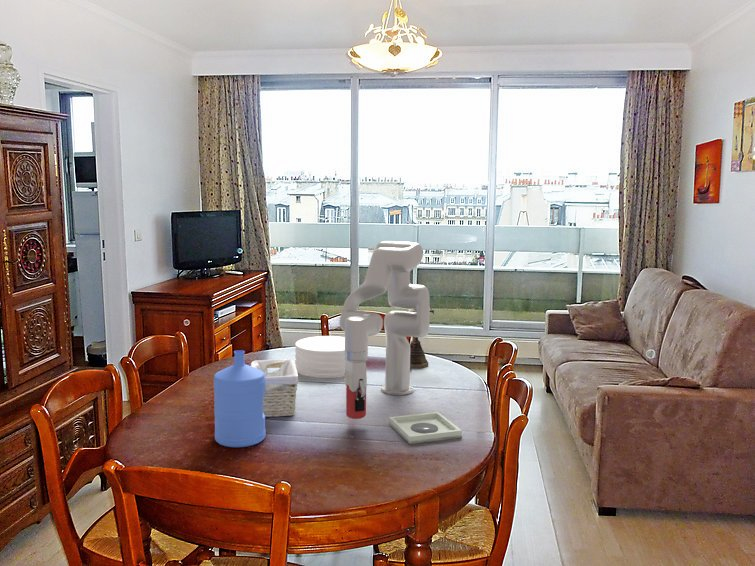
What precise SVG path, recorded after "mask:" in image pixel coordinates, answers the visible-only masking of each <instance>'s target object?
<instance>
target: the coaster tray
mask: <svg viewBox="0 0 755 566" xmlns="http://www.w3.org/2000/svg"><path fill="white" fill-rule="evenodd" d="M388 425H389V426H390V427H392V429H393V430H394V431H395V432H396V433H398V434H399V436H400V437H402V439H404V440H405V442H406V443H408V444H409V445H416V444H422V443H429V442H436V441H437V442H439V441H445V440H454V439H460V438H463V437H462V436H463V430H462V429H461V428H460V427H458V425H456V424H455V423H453V422H452V421H450V420H449V419H448V418H447V417H445V416H444V415H443V414H441V413H440V412H439V411H432V412H425V413H416V414H414V413H413V414H406V415H397V416H388Z"/></svg>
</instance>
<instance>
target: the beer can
mask: <svg viewBox="0 0 755 566" xmlns="http://www.w3.org/2000/svg"><path fill="white" fill-rule="evenodd" d="M345 388H346V390H345V391H346V392H345V393H346V394H345V395H346V396H345V397H346V398H345V399H346V400H345V402H346V403H345V405H346V406H345V407H346V408H345V411H346V416H347V417H348V418H349V419H353V420H359V419H363V418H365V417H366V415H367V393H366V394H365V410H364V411H359V412H356V411H355V400H356V396H355V391H354V392H352V391H351V390H350V389H349V385H348V384H347V386H346V387H345ZM357 390H360V388H357ZM365 391H366V392H367V389H366V390H365ZM359 394H360V392H358V395H359Z"/></svg>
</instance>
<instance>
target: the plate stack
mask: <svg viewBox="0 0 755 566" xmlns="http://www.w3.org/2000/svg"><path fill="white" fill-rule="evenodd" d="M294 347H295V354H294V355H295V361H294V363H295V366H296V369H297V373H298V374H300V375H302V376H306V377H310V378H311V377H312V378H317V379H318V378H320V379H332V378H333V379H335V378H344V376H345V361H346V360H345V336H339V335H338V336H337V335H336V336H335V335H316V336H309V337H305V338H301V339H298V340H297V341H296V342H295V344H294Z"/></svg>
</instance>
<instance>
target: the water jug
mask: <svg viewBox="0 0 755 566" xmlns="http://www.w3.org/2000/svg"><path fill="white" fill-rule="evenodd" d="M245 353H246V351H245V350H243V349H241V350H239V349H238V350H234V351H233V354H234V356H233V359H234V363H232V364H231V365H230V366H227V367H226V368H223V369H221V370H218V371H217V372H216V373H215V374H214V375H213V392H214V393H213V394H214V396H213V397H214V407H213V411H214V440H215V442H216V443H218V444H219V445H220V446H224V447H227V448H245V447H251V446H255V445H257V444H259V443H261V442H262V441H263V440H265V438H266V436H267V435H266V433H267V431H266V417H265V415H264V413H263V396H264V395H265V374H264V372H263V371H262V370H259V369H257V368H254V367H252V366H251V365H249V364H246V363H245Z"/></svg>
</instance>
